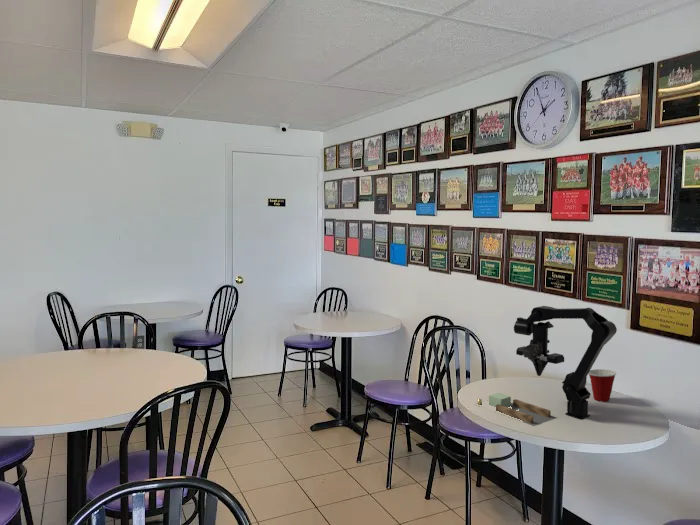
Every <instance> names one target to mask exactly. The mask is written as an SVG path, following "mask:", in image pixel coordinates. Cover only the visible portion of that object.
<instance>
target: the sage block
mask: <svg viewBox="0 0 700 525" xmlns="http://www.w3.org/2000/svg"><path fill="white" fill-rule="evenodd" d="M511 397H512V396H510V395H507V394H505V393H501V392H496V393H493V394H489V395H488V400H489V405H491V406H494V407H496V405H498V404H499V405H502V406H505V407H510V406H511V403H512V398H511Z"/></svg>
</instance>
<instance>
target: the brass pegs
mask: <svg viewBox="0 0 700 525" xmlns="http://www.w3.org/2000/svg"><path fill="white" fill-rule="evenodd" d="M482 402H483V399H481V398H477V404H478V405H482Z"/></svg>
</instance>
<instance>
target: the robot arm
mask: <svg viewBox="0 0 700 525" xmlns="http://www.w3.org/2000/svg"><path fill="white" fill-rule="evenodd" d="M554 319H555V320H557V319H559V320H561V319H569V320H571V319H574V320H575V319H578V320H580V319H582V320H583V321H584V322H585V323H586V324H587V326H588V328H589V329H591V331H592V332H591V336H590V338H591V340H590V343H589V344H588V347H587V348H586V350H585V352H584V354H583V356H582V358H581V359H580V361H579V363H578V366H576V369H575V370H574V371H572V372H569V373H567V374H566V375H565V378H564V380H563V381H562V382H561V383H562V387H561V388H562V390H563V392H564V395H565V398H566V400H567V402H566V404H567V405H566V412H565V415H567V416H569V417H572V418H576V419H578V420H584V419H586V418H589V417H590V414H589V413H588V412H589V399H590V397H591V396H592V395H591V393H590V392H591V391H589V390H588V388H587V387H586V385H587V378H588V375H589V374H588V373H589V371H590V370H592V367H593V365H594V364H595V362H596V361H597V359H598V357H599V355H600V353H601V351H602V350H603V347H604V346H605V345H606V344H607V343H608V342H610V340H612V338H614V336H615V334H616V333H617V331H618V329H617V326H616V325H615V323H614V322H612V321H610V320H608V319H607V318H605V317H604V316H603V315H601V314H599V313H598V312H597V311H595V310H594V309H593V308H592V307H583V308H581V307H580V308H579V307H578V308H577V307H576V308H573V307H572V308H557V307H556V308H555V307H553V306H548V305H541V306H536V307H533V308H532V310H531V311H530V315H529V316H528V317H527V318H524V317H521V316H520V317H517V318H516V321H515V322H514V325H513V331H514V333H515V334H517V335H522V336H531V335H532V338H531V339H530V341H529V344H528V345H524V346H520V347H517V348H516V350H515V351H516V352H515V353H516V355H518V356H521V357H522V356H523V357H524V358H525V359H526V358H527V359H528V360H529V361H531V362H532V365H533V367H534V369H535V373H536V375H537V377H541V376H542V374H543V372H544V370H545V369H546V366H547V365H548V363H551V364H555V365H556V364H561V363H565V356H564V354H560V353H557V352H556V353H555V352H554V353H550V350H549V349H548V344H549V343H551V342H550V340H549V338H548V337H549V329H551V328H554V325H553V324H552V323H551V322H550V321H549V320H554ZM544 321H546V322H544Z"/></svg>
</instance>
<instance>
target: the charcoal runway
mask: <svg viewBox="0 0 700 525" xmlns="http://www.w3.org/2000/svg"><path fill="white" fill-rule="evenodd" d="M511 407H512V409H514V410H518V409H519V412H522V413H525V414H528V415H531V416H533V423H531V424H530V423H528V422H525V421H523V422H522V423H525V424H526V425H530V426H533V427H535V426H537V425H541V424H543V423H546V422H547V423H548V422H550V421H553V420H555V419H557V417H556V416H553V415H550V417H545V416H542V415H539V414H536V413H533V412H530V411H527V410H524V409H521V408H518V407H515V406H513V402H511ZM519 422H521V421H520V420H519Z"/></svg>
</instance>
